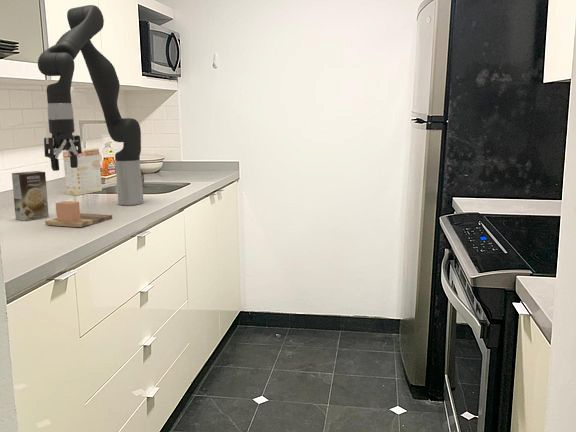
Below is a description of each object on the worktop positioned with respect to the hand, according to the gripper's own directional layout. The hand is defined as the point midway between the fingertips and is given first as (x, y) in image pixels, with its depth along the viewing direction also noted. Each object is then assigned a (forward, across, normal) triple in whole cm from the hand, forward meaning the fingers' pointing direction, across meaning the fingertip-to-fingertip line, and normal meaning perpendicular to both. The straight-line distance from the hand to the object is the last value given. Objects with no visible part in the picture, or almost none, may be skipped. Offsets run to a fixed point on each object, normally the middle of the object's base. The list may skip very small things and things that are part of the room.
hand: (65, 169), depth 189 cm
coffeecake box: (+18, -61, -43) cm, 77 cm away
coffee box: (+19, -6, -21) cm, 29 cm away
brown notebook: (+18, -8, 0) cm, 20 cm away
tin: (+18, -81, -30) cm, 89 cm away
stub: (+18, 0, 0) cm, 18 cm away
